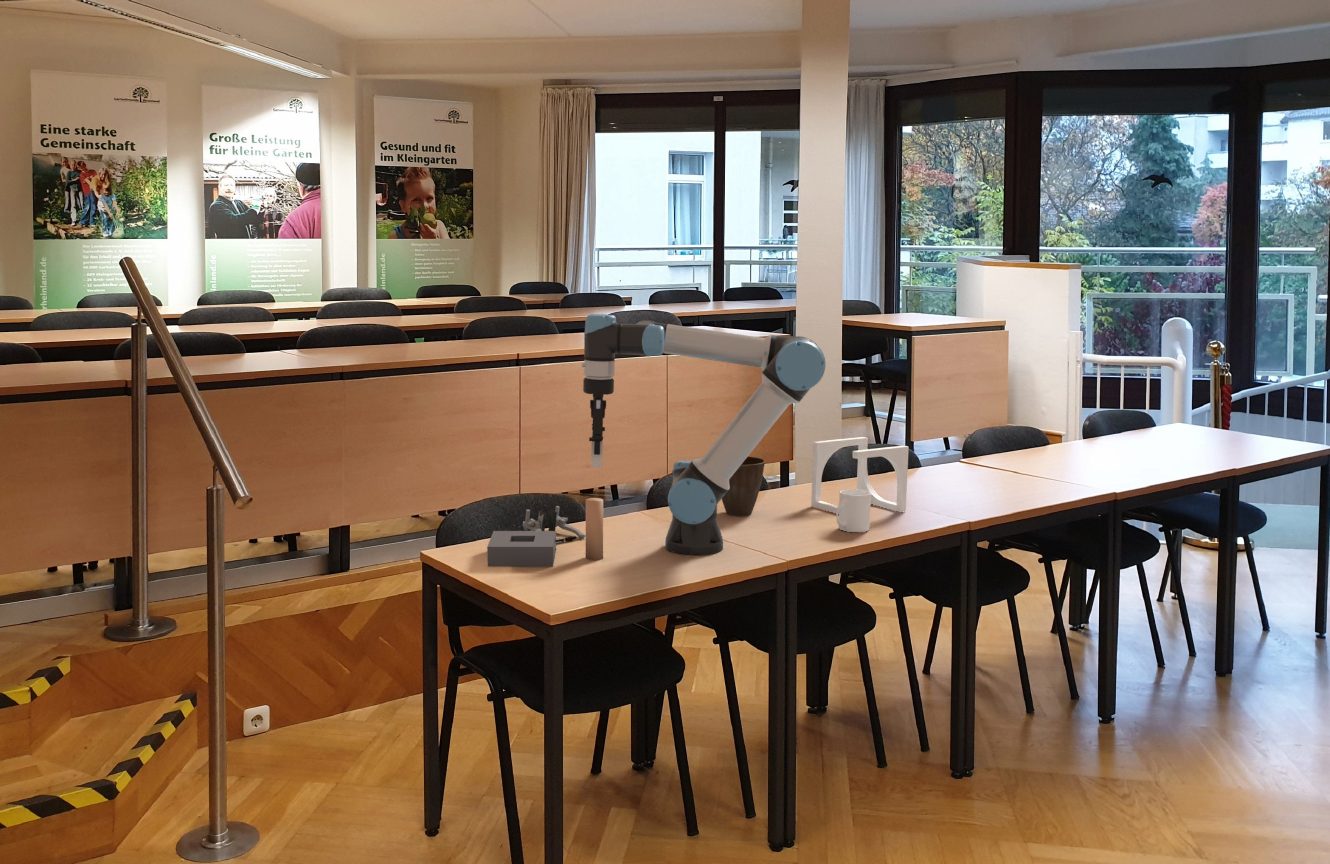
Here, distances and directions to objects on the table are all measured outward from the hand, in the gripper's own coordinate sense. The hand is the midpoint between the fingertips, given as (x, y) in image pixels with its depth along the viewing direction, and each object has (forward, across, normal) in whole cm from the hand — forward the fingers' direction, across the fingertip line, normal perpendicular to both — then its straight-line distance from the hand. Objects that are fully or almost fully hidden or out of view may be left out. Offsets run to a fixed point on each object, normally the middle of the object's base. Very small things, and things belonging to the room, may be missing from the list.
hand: (596, 462), depth 295 cm
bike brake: (+25, -20, -10) cm, 34 cm away
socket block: (+25, 0, -18) cm, 31 cm away
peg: (+25, 0, 0) cm, 25 cm away
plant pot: (+24, -50, +42) cm, 70 cm away
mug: (+23, -29, +71) cm, 80 cm away
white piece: (+23, -56, +80) cm, 100 cm away
